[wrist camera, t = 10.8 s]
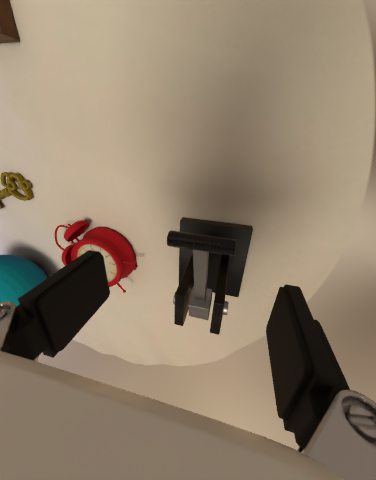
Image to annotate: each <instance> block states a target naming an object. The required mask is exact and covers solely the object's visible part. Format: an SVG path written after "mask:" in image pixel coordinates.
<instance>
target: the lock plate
mask: <svg viewBox="0 0 376 480" xmlns="http://www.w3.org/2000/svg"><path fill="white" fill-rule="evenodd" d="M17 41H20V40H19V36H18V33H17V29H16V25H15V21H14V18H13V14H12V10H11V6H10V2H9V0H0V43H3V42H17Z"/></svg>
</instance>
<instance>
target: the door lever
mask: <svg viewBox="0 0 376 480" xmlns="http://www.w3.org/2000/svg"><path fill="white" fill-rule="evenodd" d="M167 245H168V246H172V247H178V248H185V249H191V250H193V267H194V286H193V288H192V292H191V296H190V300H189V304H188V308H189V316H192V317H196V318H201V319H205V320H208V318H209V312H210V306H211V300H212V289H208V288H207V276H208V258H209V252H210V253H216V254H223V255H229V256H234V255H235V250H236V240H235V239H227V238H220V237H213V236H206V235H199V234H192V233H185V232H178V231H170V232H169V233H168V237H167Z"/></svg>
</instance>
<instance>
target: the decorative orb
mask: <svg viewBox="0 0 376 480" xmlns="http://www.w3.org/2000/svg"><path fill="white" fill-rule="evenodd" d="M46 279H47V276H46V275H45V273H44V271H43V270H42V269H41V268H40V267H39V266H38V265H37V264H35V263H34V262H32V261H30V260H28V259H25V258H22V257H18V256H13V255H0V302H12V303H14V304H15V305H16V307H17V306H18V305H19V304H20V303H19V301H18V298H20V297H21V296H23V295H24V294H26V293H27V292H28V291H30V290H31V289H33V288H34V287H36V286H37V285H39V284H40V283H41V282H43V281H44V280H46Z"/></svg>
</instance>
